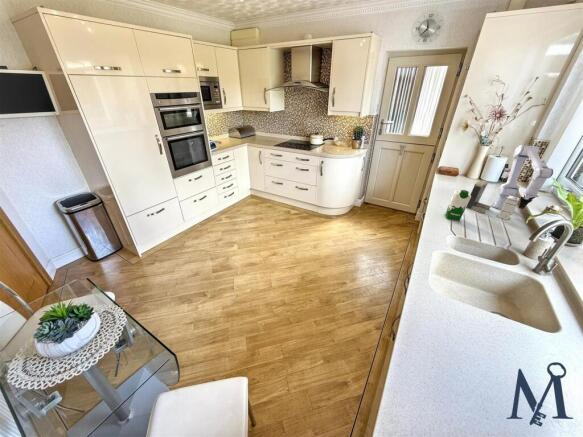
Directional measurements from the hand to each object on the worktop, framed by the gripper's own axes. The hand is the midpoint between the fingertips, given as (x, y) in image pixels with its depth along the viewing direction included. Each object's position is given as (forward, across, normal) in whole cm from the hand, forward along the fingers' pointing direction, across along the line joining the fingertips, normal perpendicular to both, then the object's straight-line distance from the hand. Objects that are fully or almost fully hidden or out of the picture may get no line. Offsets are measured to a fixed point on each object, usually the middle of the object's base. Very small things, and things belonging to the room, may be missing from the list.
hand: (522, 206), depth 150 cm
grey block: (+10, 0, +22) cm, 24 cm away
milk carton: (+11, -32, +26) cm, 43 cm away
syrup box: (+11, 0, +6) cm, 12 cm away
